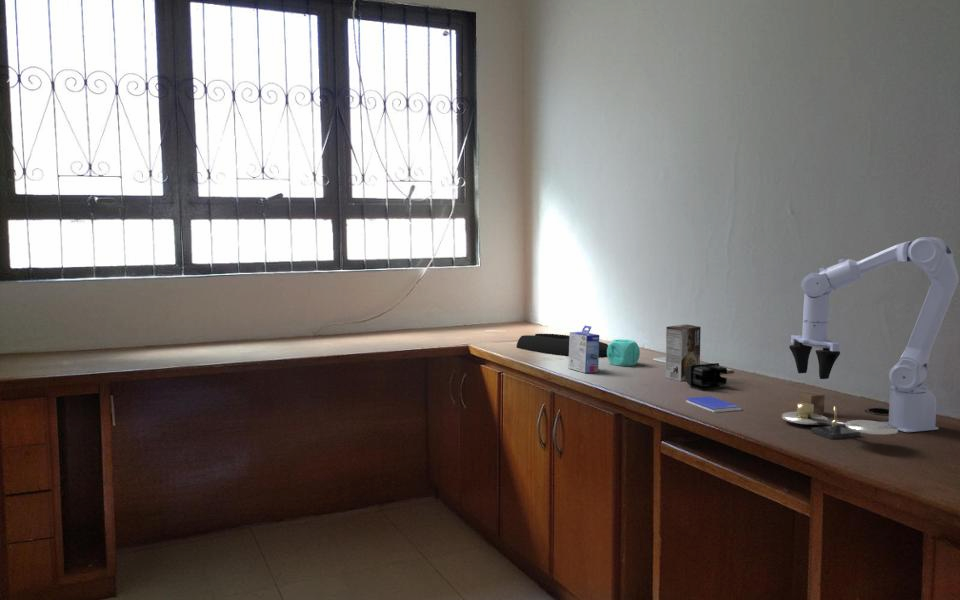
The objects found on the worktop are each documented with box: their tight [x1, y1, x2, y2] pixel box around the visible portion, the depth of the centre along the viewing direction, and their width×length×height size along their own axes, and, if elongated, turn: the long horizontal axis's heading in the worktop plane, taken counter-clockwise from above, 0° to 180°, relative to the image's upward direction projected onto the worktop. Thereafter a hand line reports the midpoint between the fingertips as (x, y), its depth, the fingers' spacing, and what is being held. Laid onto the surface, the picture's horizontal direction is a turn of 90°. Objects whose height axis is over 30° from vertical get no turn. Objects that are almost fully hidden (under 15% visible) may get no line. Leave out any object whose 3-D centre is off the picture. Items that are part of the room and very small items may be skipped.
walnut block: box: [799, 391, 826, 416], centre depth 190 cm, size 4×4×5 cm
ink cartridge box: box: [568, 325, 600, 374], centre depth 246 cm, size 10×6×14 cm, turn 28°
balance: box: [781, 402, 899, 440], centre depth 170 cm, size 10×30×6 cm, turn 17°
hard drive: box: [685, 396, 742, 413], centre depth 198 cm, size 2×8×12 cm
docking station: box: [516, 333, 609, 358], centre depth 289 cm, size 25×41×5 cm, turn 42°
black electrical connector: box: [685, 362, 728, 392], centre depth 221 cm, size 10×7×7 cm
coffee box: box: [664, 324, 702, 382], centre depth 234 cm, size 9×6×16 cm
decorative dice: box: [607, 338, 641, 367], centre depth 258 cm, size 8×8×8 cm
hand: (812, 375), depth 189 cm, fingers open, 7 cm apart
